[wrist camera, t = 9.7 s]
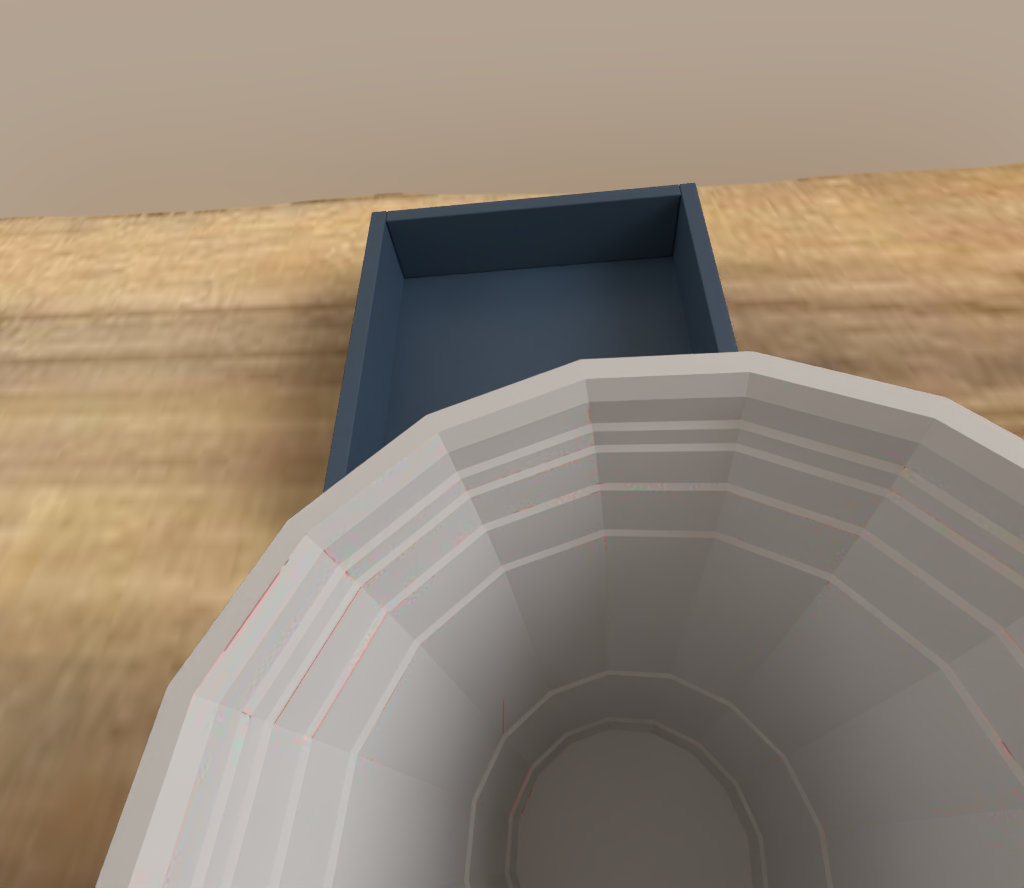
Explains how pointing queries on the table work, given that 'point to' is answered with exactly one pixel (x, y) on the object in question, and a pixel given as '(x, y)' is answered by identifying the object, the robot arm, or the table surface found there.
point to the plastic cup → (618, 651)
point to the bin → (519, 301)
